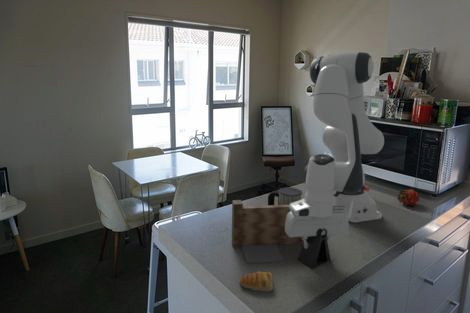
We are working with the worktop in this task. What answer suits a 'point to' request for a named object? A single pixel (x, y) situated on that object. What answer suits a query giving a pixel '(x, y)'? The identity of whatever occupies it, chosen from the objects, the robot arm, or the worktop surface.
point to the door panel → (260, 225)
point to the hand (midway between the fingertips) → (315, 247)
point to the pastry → (257, 281)
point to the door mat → (262, 253)
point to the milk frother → (285, 196)
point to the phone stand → (315, 250)
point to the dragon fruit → (408, 197)
